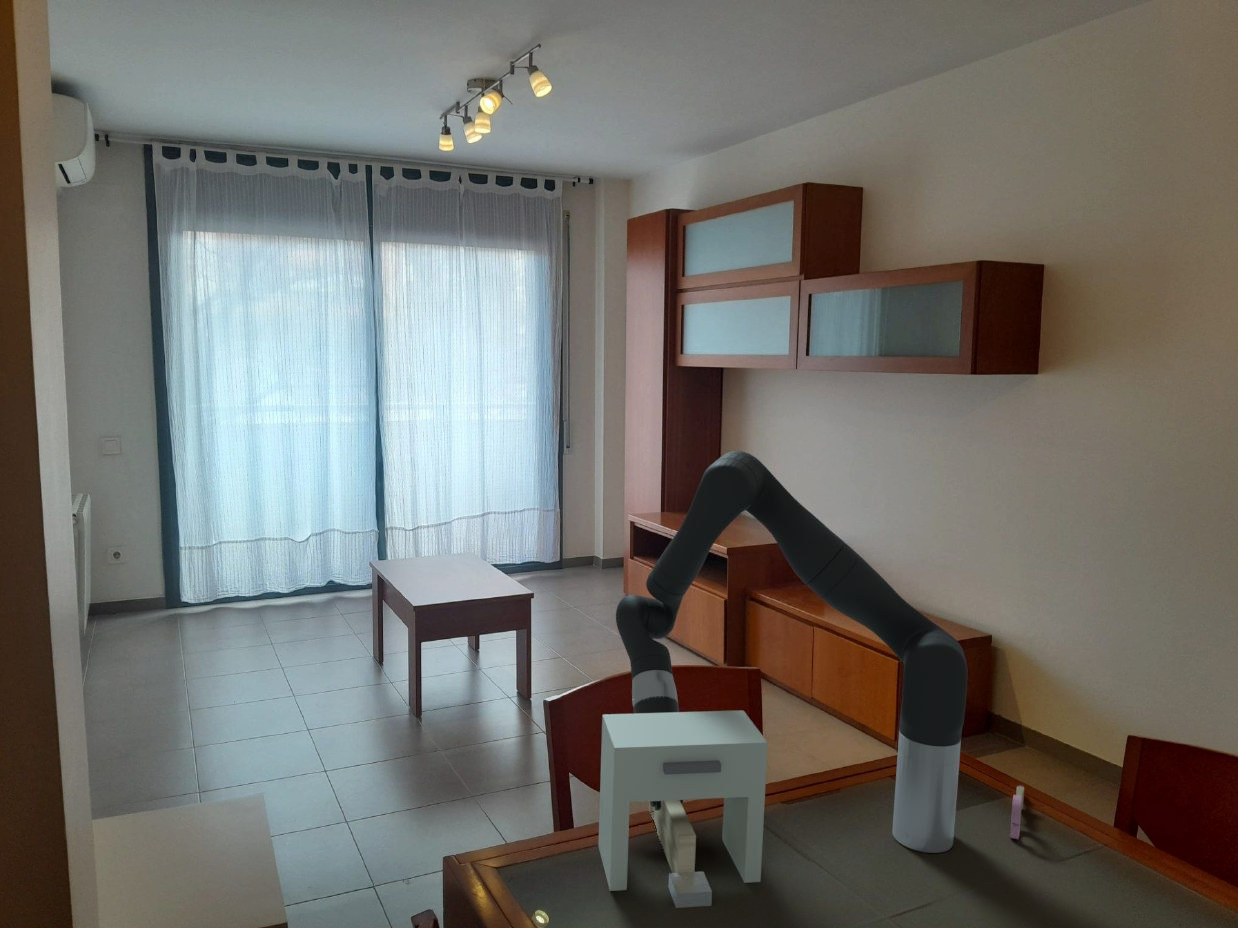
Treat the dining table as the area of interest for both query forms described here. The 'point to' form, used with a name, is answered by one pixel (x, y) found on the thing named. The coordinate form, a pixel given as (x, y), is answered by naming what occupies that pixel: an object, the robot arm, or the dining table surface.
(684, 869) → the beech blade
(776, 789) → the dining table surface
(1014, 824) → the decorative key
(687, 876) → the block
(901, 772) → the robot arm
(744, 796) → the desk
